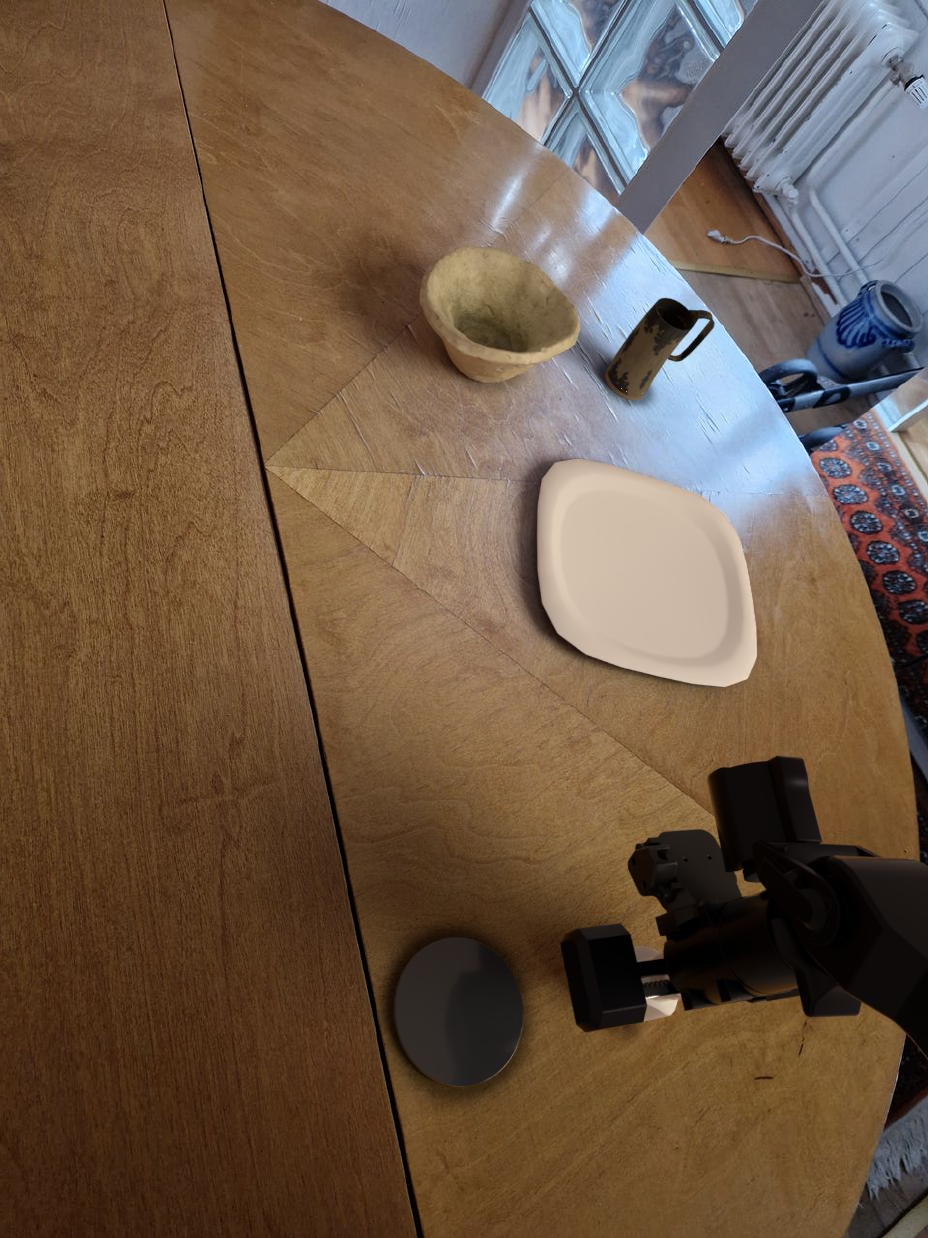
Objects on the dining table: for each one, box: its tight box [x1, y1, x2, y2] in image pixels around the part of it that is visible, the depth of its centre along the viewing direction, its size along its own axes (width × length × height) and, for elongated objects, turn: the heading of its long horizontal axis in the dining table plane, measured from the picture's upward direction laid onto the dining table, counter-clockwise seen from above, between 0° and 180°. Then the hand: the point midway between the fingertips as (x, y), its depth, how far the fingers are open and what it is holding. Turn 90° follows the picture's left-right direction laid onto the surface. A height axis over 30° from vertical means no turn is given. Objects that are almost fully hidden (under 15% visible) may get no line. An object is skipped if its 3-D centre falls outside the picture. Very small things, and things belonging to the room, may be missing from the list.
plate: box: [536, 458, 758, 689], centre depth 92 cm, size 25×25×2 cm
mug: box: [604, 297, 716, 401], centre depth 103 cm, size 8×6×12 cm
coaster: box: [392, 936, 525, 1088], centre depth 65 cm, size 10×10×1 cm
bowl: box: [418, 246, 581, 384], centre depth 95 cm, size 14×18×15 cm
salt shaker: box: [634, 945, 682, 1022], centre depth 66 cm, size 4×4×10 cm
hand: (631, 982), depth 68 cm, fingers open, 9 cm apart
